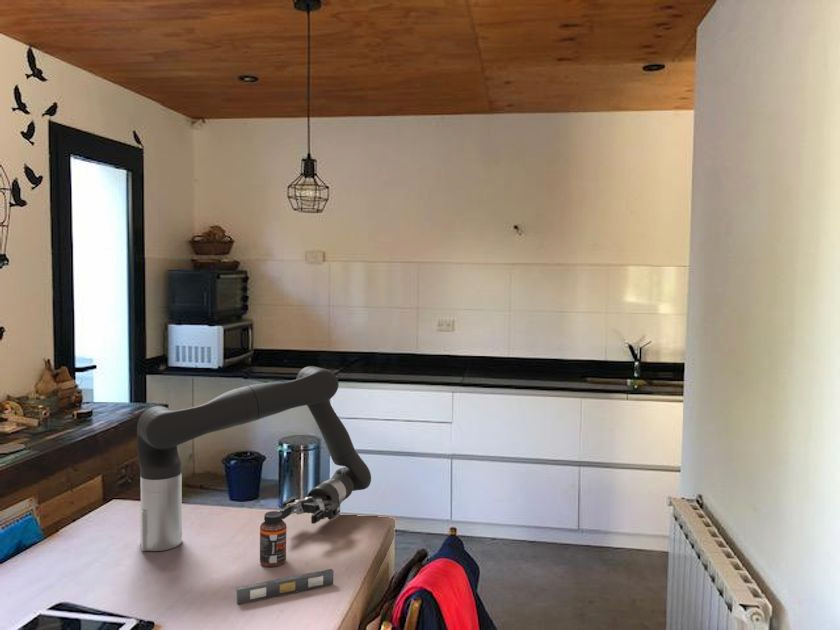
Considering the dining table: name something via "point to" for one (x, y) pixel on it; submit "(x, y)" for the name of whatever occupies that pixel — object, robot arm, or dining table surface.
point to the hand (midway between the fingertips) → (297, 517)
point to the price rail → (284, 586)
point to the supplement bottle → (273, 540)
